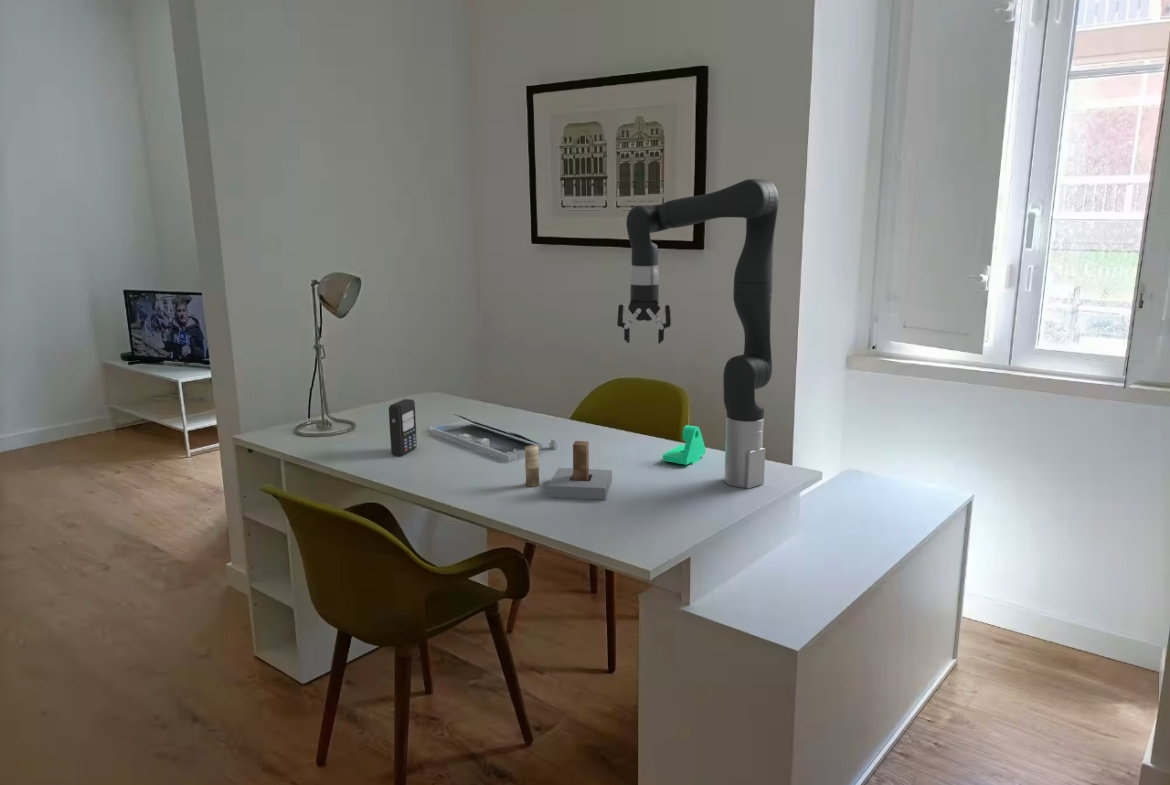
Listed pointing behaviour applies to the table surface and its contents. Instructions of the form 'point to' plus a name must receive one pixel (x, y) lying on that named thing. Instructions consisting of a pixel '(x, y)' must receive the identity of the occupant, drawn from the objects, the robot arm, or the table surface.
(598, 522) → the table surface
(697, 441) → the camera mount
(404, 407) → the card reader
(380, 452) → the table surface
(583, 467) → the walnut bar
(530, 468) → the beech dowel
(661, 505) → the table surface
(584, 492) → the bore plate
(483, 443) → the paper cutter
